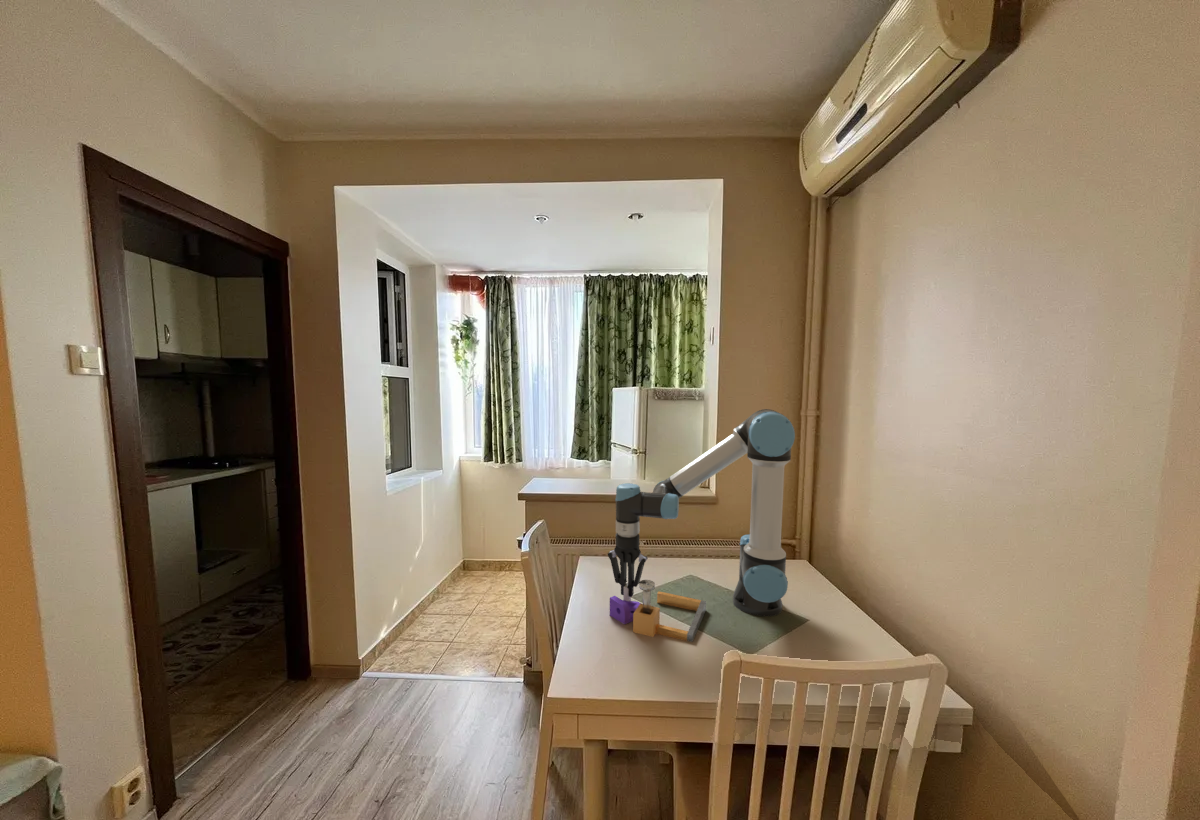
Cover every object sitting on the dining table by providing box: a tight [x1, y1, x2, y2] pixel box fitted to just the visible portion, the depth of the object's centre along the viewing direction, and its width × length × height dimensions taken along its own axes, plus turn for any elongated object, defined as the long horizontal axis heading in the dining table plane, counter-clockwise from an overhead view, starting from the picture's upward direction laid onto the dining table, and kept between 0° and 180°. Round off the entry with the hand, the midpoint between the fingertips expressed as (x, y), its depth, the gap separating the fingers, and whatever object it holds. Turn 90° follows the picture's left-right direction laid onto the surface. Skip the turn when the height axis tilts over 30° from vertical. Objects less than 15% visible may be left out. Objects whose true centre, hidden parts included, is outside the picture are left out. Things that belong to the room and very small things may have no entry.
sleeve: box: [632, 603, 661, 638], centre depth 126 cm, size 6×6×7 cm
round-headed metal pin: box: [638, 579, 656, 615], centre depth 126 cm, size 4×4×9 cm
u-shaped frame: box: [655, 591, 707, 643], centre depth 132 cm, size 16×20×4 cm
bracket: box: [609, 595, 642, 625], centre depth 135 cm, size 12×7×7 cm, turn 129°
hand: (627, 605), depth 139 cm, fingers closed
